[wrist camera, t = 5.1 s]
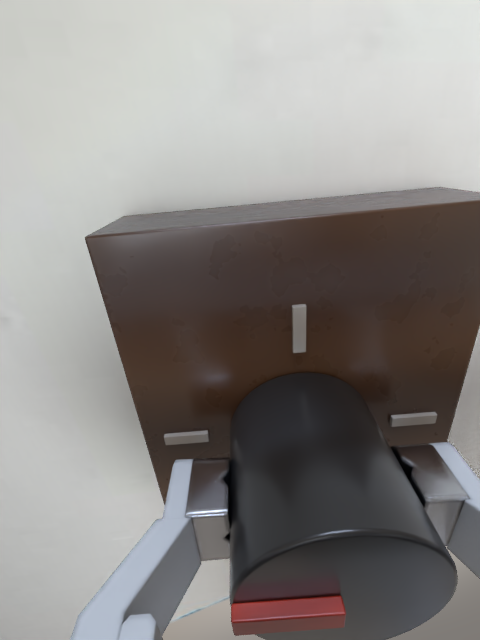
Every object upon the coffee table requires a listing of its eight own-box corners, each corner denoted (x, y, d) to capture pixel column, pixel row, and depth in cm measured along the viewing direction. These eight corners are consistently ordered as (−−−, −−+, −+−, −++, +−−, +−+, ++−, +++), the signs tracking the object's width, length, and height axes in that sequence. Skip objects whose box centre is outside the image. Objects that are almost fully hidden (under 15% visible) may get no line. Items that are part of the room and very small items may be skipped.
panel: (389, 471, 16) (423, 539, 13) (187, 487, 16) (177, 557, 13) (440, 186, 10) (523, 197, 7) (122, 216, 10) (80, 237, 7)
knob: (375, 364, 9) (501, 543, 5) (362, 469, 11) (444, 662, 7) (222, 378, 9) (216, 565, 5) (236, 479, 11) (240, 676, 7)
